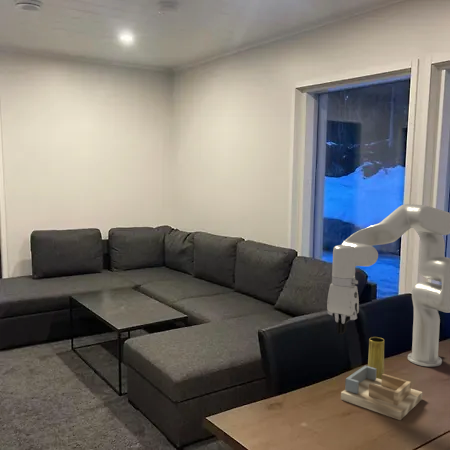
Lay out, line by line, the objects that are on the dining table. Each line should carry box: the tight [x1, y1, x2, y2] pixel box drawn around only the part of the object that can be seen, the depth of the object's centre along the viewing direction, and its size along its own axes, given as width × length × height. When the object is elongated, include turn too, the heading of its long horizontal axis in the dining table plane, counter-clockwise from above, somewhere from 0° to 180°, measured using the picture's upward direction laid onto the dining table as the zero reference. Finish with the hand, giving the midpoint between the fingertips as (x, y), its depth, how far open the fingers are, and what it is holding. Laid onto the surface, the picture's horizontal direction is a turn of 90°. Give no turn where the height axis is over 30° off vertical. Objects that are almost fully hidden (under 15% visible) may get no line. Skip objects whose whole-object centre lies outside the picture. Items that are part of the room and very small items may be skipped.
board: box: [340, 373, 423, 421], centre depth 160 cm, size 18×20×6 cm
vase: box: [367, 336, 385, 380], centre depth 177 cm, size 6×6×14 cm
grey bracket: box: [344, 365, 377, 394], centre depth 165 cm, size 14×4×4 cm, turn 138°
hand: (341, 333), depth 168 cm, fingers closed
